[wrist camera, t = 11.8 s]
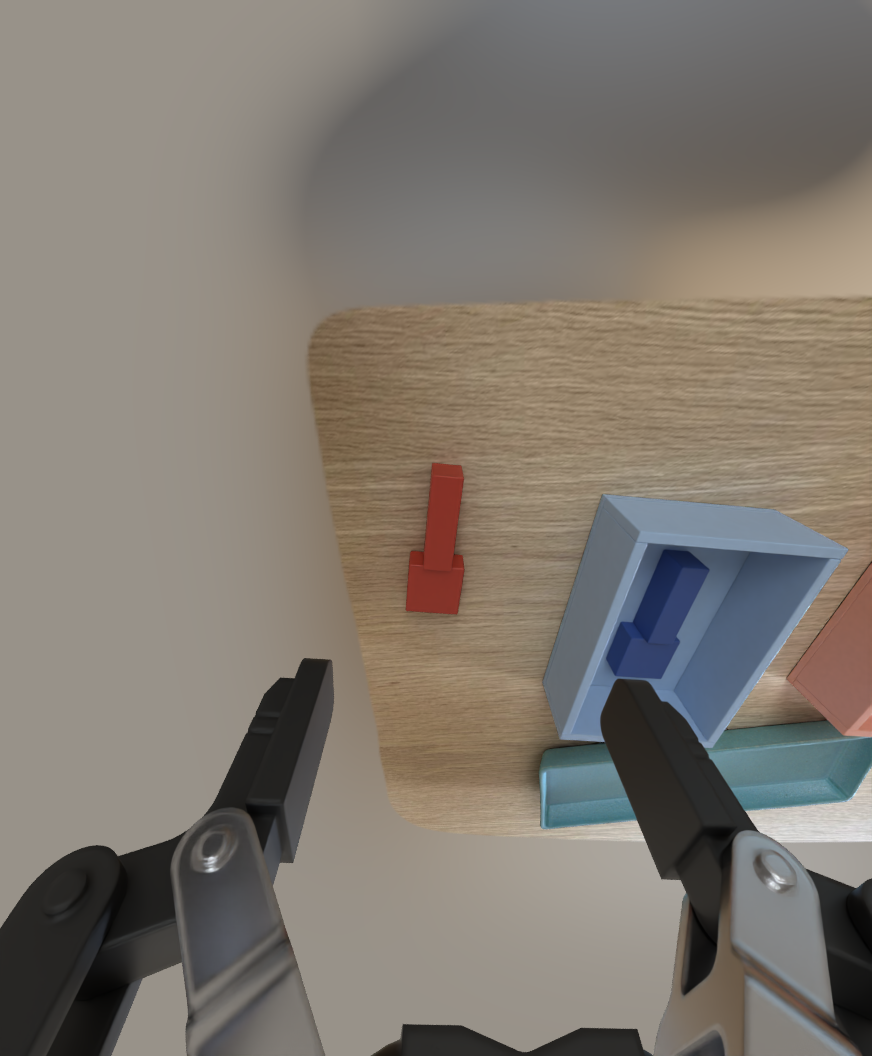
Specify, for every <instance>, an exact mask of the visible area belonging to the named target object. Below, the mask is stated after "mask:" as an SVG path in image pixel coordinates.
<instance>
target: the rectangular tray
mask: <svg viewBox="0 0 872 1056" xmlns="http://www.w3.org/2000/svg"><path fill="white" fill-rule="evenodd" d="M705 750H706V751H707V753H708V754H709V759H712V761H713V762H714V764H715V765H716V767H717V768H718V770H719V771H720V773H721V775H722V776H723V778H724V779H725V781H726V782H727V784H728V785H729V787H730V789H731V790H732V792H733V793H734V795H735V796H736V798H737V799H738V801H739V803H740V804H741V806H742V807H743V809H744V810H745V811H751V810H762V809H775V808H786V807H797V806H808V805H818V804H829V803H838V802H846V801H848V800H851V799H852V798H853V796H854V795H855V793H856V791H857V789H858V788H859V786H860V785H861V783H862V781H863V780H864V778H865V777H866V775H867V773H868V772H869V771H870V769H871V767H872V737H861V736H845V735H842V734H841V733H840V732H839V731H838V730H837V729H836V728H835V727H834V726H833V725H832V724H831V723H830V722H829V721H828V720H826V721H816V722H805V723H795V724H784V725H774V726H764V727H754V728H744V729H734V730H724V731H723V733H722V734H721V736H720V737H719V739H718V740H717V741H716V743H715V745H714V746H713V748H705ZM539 783H540V804H541V806H540V810H541V814H540V826H541V828H542V829H554V828H563V827H574V826H583V825H594V824H605V823H616V822H626V821H636V820H637V819H636V816H635V814H634V811H633V809H632V806H631V804H630V802H629V799H628V797H627V794H626V792H625V789H624V787H623V785H622V782H621V780H620V777H619V775H618V772H617V770H616V768H615V765H614V763H613V760H612V758H611V756H610V753H609V751H608V748H607V746H606V743H602V744H593V745H583V746H574V747H565V748H556V749H548V750H546V751H545V752H544V753H543V756H542V760H541V763H540V769H539Z"/></svg>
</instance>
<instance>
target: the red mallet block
mask: <svg viewBox="0 0 872 1056" xmlns="http://www.w3.org/2000/svg"><path fill="white" fill-rule="evenodd" d="M463 482H464V477H463V472H462V467H461V466H460V465H449V464H438V463H432V470H431V481H430V491H429V502H428V512H427V523H426V533H425V544H424V552H418V551H411V552H410V561H409V573H408V586H407V599H406V611H415V612H429V613H443V614H457V613H458V608H459V602H460V595H461V589H462V582H463V576H464V562H463V556H462V555H455V554H454V547H455V540H456V533H457V526H458V518H459V511H460V504H461V496H462V489H463Z"/></svg>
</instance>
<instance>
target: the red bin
mask: <svg viewBox="0 0 872 1056" xmlns="http://www.w3.org/2000/svg"><path fill="white" fill-rule="evenodd" d="M787 680H788V681H789V682H790V683H791V684H792V685H793V686H794V687H795V688H796V689H797V690H798V691H799V692H800V693H801V694H802V695H803V696H804V697H805V698H806V699H807V700H808V701H809V702H810V703H811V704H812V705H813V706H814V707H815V708H816V709H817V710H818V711H819V712H820V713H821V714H822V715H823V716H824V717H825V718H826V719H827V720H828V721H829V722H830V723H831V724H832V725H833V726H834V727H835V728H836V729H837V730H838V731H839V732H840V733H841V734H842V735H845V736H861V737H872V563H871V564H870V566H869V567H868V568H867V570H866V571H865V572H864V574H863V575H862V576H861V578H860V579H859V581H858V582H857V583H856V585H855V586H854V587H853V589H852V590H851V591H850V593H849V594H848V596H847V597H846V598H845V600H844V601H843V602H842V604H841V605H840V606H839V608H838V609H837V610H836V612H835V613H834V615H833V616H832V617H831V619H830V620H829V621H828V623H827V624H826V625H825V627H824V628H823V630H822V631H821V632H820V634H819V635H818V636H817V638H816V639H815V640H814V642H813V643H812V645H811V646H810V647H809V649H808V650H807V651H806V653H805V654H804V655H803V657H802V658H801V660H800V661H799V662H798V664H797V665H796V666H795V668H794V669H793V670H792V672H791V673H790V674H789V676H788V677H787Z"/></svg>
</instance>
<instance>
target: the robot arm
mask: <svg viewBox="0 0 872 1056" xmlns="http://www.w3.org/2000/svg"><path fill="white" fill-rule="evenodd" d="M333 704H334V688H333V667H332V661H331V660H325V659H310V658H304V659H303V660H302V662H301V664H300V666H299V669H298V671H297V674H296V676H295V678H280V679H279V680H278V681H277V682H276V683H275V684H274V685H273V686H272V687H271V688H270V689H269V690H268V691H267V692H266V693H265V694H264V696H263V699H262V701H261V703H260V705H259V707H258V709H257V711H256V715H255V717H254V718H253V720H252V722H251V724H250V726H249V728H248V733H247V734H246V735H245V737H244V739H243V741H242V743H241V746H240V748H239V750H238V752H237V754H236V756H235V758H234V761H233V763H232V765H231V767H230V769H229V772H228V774H227V776H226V778H225V780H224V782H223V784H222V786H221V789H220V791H219V793H218V795H217V797H216V799H215V801H214V803H213V804H212V806H211V807H210V809H209V810H208V811H207V812H206V814H205V815H204V816H203V817H202V818H201V819H200V820H198V821H197V822H196V823H195V824H194V825H193V826H192V827H191V828H190V829H188V830H187V831H185V832H184V833H182V834H181V835H179V836H177V837H175V838H173V839H171V840H168V841H165V842H163V843H159V844H156V845H153V846H150V847H146V848H143V849H140V850H137V851H134V852H130V853H128V854H124V855H121V856H117V855H116V853H115V852H114V851H113V850H112V849H110V848H109V847H106V846H98V845H96V846H88V847H85V848H81V849H79V850H77V851H74V852H72V853H70V854H68V855H66V856H64V857H63V858H61V859H60V860H58V861H57V862H55V863H54V864H53V865H51V866H50V867H49V868H48V869H46V870H45V871H44V872H43V873H42V874H41V875H40V876H39V877H38V878H37V879H36V880H35V881H34V882H33V883H32V884H31V885H30V886H29V888H28V889H27V891H26V892H25V893H24V894H23V896H22V897H21V899H20V900H19V902H18V903H17V904H16V906H15V907H14V909H13V910H12V912H11V913H10V915H9V916H8V918H7V919H6V921H5V922H4V924H3V925H2V927H1V928H0V1056H111V1055H112V1052H113V1050H114V1047H115V1045H116V1043H117V1040H118V1038H119V1035H120V1033H121V1030H122V1028H123V1025H124V1023H125V1021H126V1018H127V1016H128V1013H129V1010H130V1008H131V1006H132V1003H133V1001H134V998H135V996H136V993H137V991H138V989H139V986H140V984H141V981H142V979H143V978H144V977H147V976H149V975H152V974H154V973H156V972H159V971H161V970H163V969H166V968H168V967H171V966H174V965H176V964H178V963H181V962H182V966H183V974H184V981H185V989H186V997H187V1006H188V1020H187V1023H186V1052H187V1056H325V1053H324V1050H323V1047H322V1043H321V1040H320V1037H319V1034H318V1030H317V1027H316V1024H315V1020H314V1017H313V1014H312V1010H311V1007H310V1004H309V1000H308V998H307V994H306V991H305V987H304V984H303V981H302V978H301V974H300V971H299V968H298V964H297V961H296V958H295V955H294V951H293V948H292V945H291V943H290V940H289V937H288V934H287V931H286V928H285V925H284V922H283V919H282V915H281V912H280V908H279V905H278V902H277V899H276V895H275V892H274V889H273V884H274V880H275V877H276V874H277V870H278V867H279V863H282V862H283V863H293V861H294V858H295V854H296V850H297V846H298V843H299V839H300V835H301V831H302V828H303V824H304V820H305V816H306V812H307V808H308V805H309V801H310V797H311V794H312V790H313V786H314V782H315V778H316V775H317V770H318V767H319V763H320V760H321V756H322V752H323V748H324V744H325V741H326V737H327V733H328V729H329V725H330V722H331V717H332V712H333ZM600 727H601V732H602V736H603V739H604V741H605V743H606V746H607V748H608V751H609V753H610V756H611V758H612V760H613V763H614V765H615V768H616V770H617V772H618V775H619V777H620V780H621V782H622V785H623V787H624V789H625V792H626V794H627V797H628V799H629V802H630V804H631V806H632V809H633V811H634V814H635V816H636V819H637V821H638V823H639V826H640V828H641V831H642V833H643V836H644V838H645V840H646V843H647V845H648V848H649V850H650V852H651V855H652V857H653V860H654V862H655V865H656V867H657V869H658V872H659V874H660V877H661V879H670V880H681V881H682V884H683V886H684V888H685V891H686V894H685V896H684V898H683V901H682V909H681V917H680V925H679V933H678V941H677V949H676V957H675V964H674V973H673V980H672V988H671V994H670V998H669V1002H668V1005H667V1008H666V1010H665V1012H664V1014H663V1017H662V1019H661V1022H660V1026H659V1029H658V1033H657V1037H656V1043H655V1049H654V1055H652V1054H650V1053H649V1052H647V1051H645V1050H643V1047H642V1044H641V1040H640V1037H639V1033H638V1030H637V1029H606V1028H604V1029H603V1028H600V1029H599V1028H580V1029H578V1030H575V1031H573V1032H571V1033H569V1034H567V1035H565V1036H563V1037H560V1038H558V1039H556V1040H554V1041H552V1042H550V1043H548V1044H545V1045H543V1046H541V1047H539V1048H537V1049H535V1050H532V1051H530V1052H520V1051H517V1050H515V1049H513V1048H511V1047H508V1046H506V1045H504V1044H502V1043H499V1042H497V1041H495V1040H493V1039H490V1038H488V1037H486V1036H484V1035H481V1034H479V1033H477V1032H475V1031H473V1030H470V1029H468V1028H466V1027H464V1026H459V1025H409V1024H407V1025H406V1024H403V1026H402V1032H401V1038H400V1040H397V1041H395V1042H393V1043H391V1044H388V1045H386V1046H385V1047H383V1048H382V1049H380V1050H379V1051H378V1052H376V1053H374V1054H373V1055H371V1056H872V879H869V880H867V881H865V882H864V883H863V884H861V885H860V886H859V887H858V888H854V887H851V886H849V885H846V884H844V883H841V882H838V881H836V880H833V879H831V878H828V877H825V876H823V875H820V874H818V873H815V872H813V871H810V870H808V869H805V868H804V867H803V865H802V864H801V863H800V862H799V861H798V860H797V858H796V857H795V856H794V855H793V854H792V853H790V852H789V851H788V850H787V849H786V848H785V847H784V846H782V845H781V844H780V843H778V842H777V841H775V840H774V839H772V838H770V837H768V836H767V835H764V834H762V833H760V832H759V831H758V830H757V828H756V827H755V826H754V824H753V823H752V821H751V820H750V818H749V817H748V815H747V813H746V812H745V810H744V809H743V807H742V806H741V804H740V803H739V801H738V799H737V798H736V796H735V795H734V793H733V792H732V790H731V789H730V787H729V785H728V784H727V782H726V781H725V779H724V778H723V776H722V775H721V773H720V771H719V770H718V768H717V767H716V765H715V764H714V762H713V761H712V759H709V754H708V753H707V751H706V750H705V748H704V747H703V745H702V744H701V743H699V741H698V737H697V736H696V734H695V733H694V731H693V730H692V728H691V726H690V725H689V723H688V722H687V720H686V719H685V718H684V717H683V716H682V715H681V714H680V713H679V712H678V711H677V710H676V709H675V708H674V707H673V706H672V705H671V704H670V703H668V702H665V701H661V700H660V698H659V697H658V695H657V693H656V692H655V690H654V688H653V687H652V685H651V684H650V683H649V682H648V681H646V680H635V679H617V680H616V681H615V682H614V684H613V687H612V689H611V691H610V694H609V696H608V698H607V701H606V703H605V705H604V707H603V710H602V712H601V716H600Z"/></svg>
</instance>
